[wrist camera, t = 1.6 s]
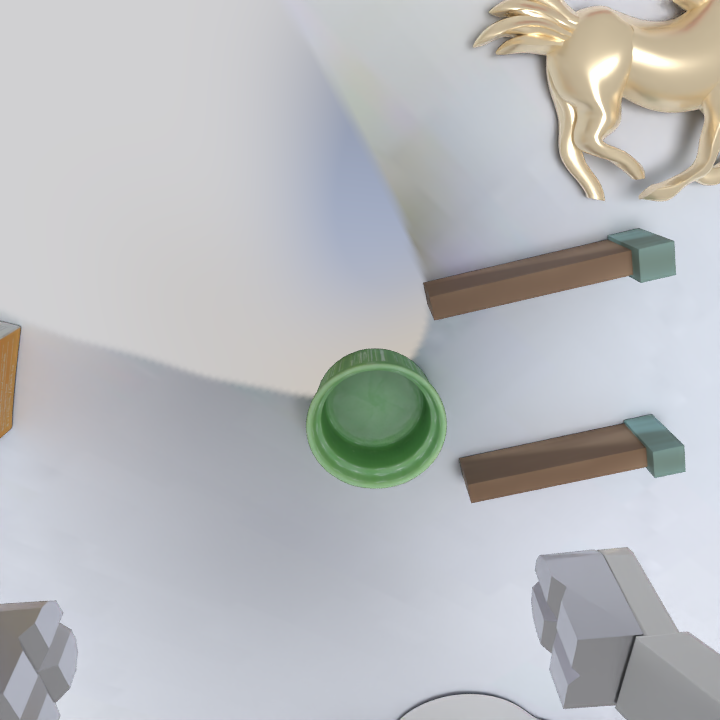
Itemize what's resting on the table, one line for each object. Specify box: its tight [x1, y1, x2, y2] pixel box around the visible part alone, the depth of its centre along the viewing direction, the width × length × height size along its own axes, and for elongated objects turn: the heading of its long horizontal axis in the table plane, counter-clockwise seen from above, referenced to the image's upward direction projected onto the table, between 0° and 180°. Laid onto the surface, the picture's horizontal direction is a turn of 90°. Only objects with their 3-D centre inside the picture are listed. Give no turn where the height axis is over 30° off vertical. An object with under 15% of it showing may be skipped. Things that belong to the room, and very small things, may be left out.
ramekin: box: [306, 349, 447, 488], centre depth 41 cm, size 9×9×4 cm
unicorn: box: [473, 0, 720, 201], centre depth 33 cm, size 20×4×17 cm
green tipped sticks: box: [423, 228, 686, 503], centre depth 40 cm, size 16×14×4 cm
